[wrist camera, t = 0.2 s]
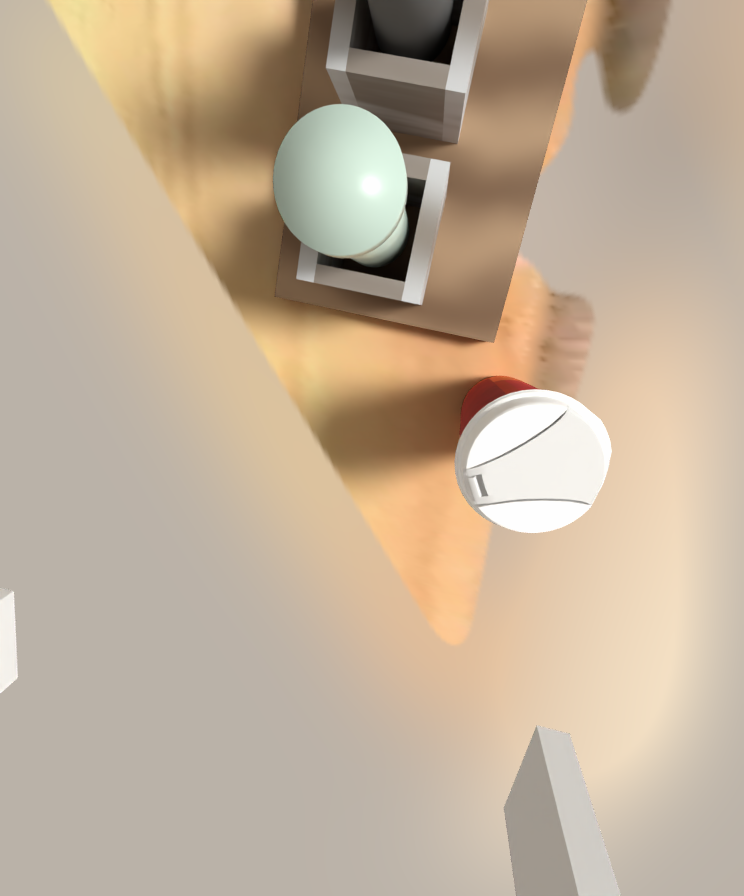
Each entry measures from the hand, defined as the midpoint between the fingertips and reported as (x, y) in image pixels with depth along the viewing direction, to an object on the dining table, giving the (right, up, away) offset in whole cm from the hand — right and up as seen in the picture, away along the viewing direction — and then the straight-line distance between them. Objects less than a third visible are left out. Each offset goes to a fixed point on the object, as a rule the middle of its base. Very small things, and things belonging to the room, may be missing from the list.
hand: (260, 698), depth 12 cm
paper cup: (+12, +9, +25) cm, 30 cm away
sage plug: (+3, +19, +16) cm, 25 cm away
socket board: (+6, +25, +21) cm, 33 cm away
